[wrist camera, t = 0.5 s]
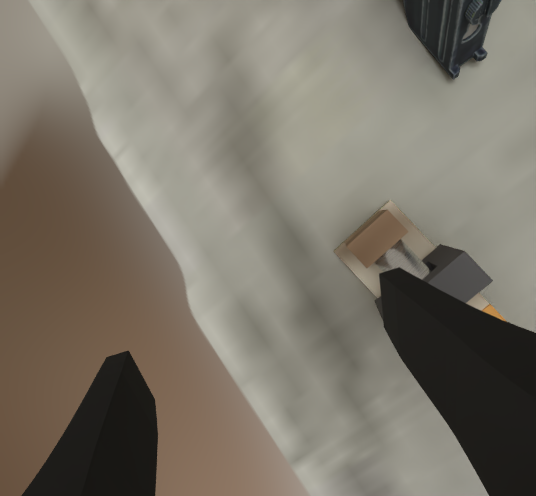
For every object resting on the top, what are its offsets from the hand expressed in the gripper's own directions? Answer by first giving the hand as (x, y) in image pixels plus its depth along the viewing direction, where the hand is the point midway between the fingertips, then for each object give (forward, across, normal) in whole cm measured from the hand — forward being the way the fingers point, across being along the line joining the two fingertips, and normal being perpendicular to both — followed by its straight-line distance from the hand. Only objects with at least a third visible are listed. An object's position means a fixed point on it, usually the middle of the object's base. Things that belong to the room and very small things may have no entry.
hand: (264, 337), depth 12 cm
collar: (+15, -12, +13) cm, 24 cm away
